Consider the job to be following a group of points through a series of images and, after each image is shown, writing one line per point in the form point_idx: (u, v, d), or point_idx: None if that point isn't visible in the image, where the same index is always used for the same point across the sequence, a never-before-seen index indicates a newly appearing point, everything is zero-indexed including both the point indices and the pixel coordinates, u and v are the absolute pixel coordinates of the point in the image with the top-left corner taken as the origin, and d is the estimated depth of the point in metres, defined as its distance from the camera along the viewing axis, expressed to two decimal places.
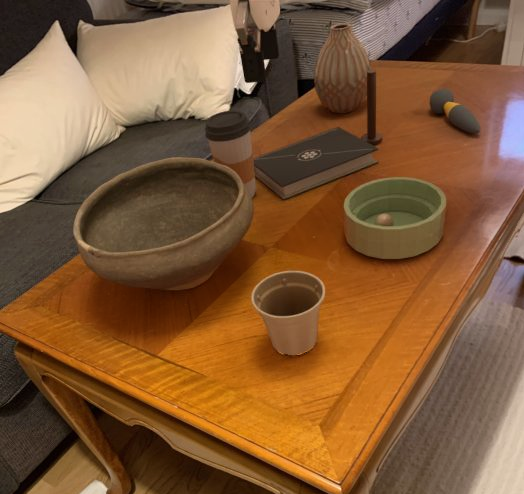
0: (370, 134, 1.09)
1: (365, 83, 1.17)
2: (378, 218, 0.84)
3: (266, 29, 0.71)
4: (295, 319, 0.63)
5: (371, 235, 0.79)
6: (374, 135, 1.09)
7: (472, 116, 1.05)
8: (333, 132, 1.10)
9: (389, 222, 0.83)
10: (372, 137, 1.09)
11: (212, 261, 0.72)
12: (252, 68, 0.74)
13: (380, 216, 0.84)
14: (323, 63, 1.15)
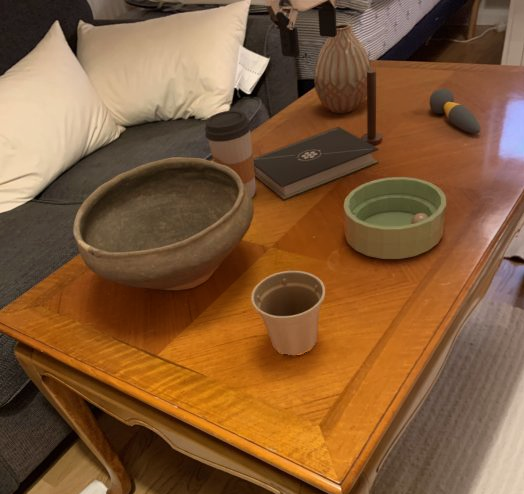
0: (370, 134, 1.09)
1: (365, 83, 1.17)
2: None
3: (300, 9, 0.77)
4: (295, 319, 0.63)
5: (371, 235, 0.79)
6: (374, 135, 1.09)
7: (472, 116, 1.05)
8: (333, 132, 1.10)
9: None
10: (372, 137, 1.09)
11: (212, 261, 0.72)
12: (285, 43, 0.81)
13: None
14: (323, 63, 1.15)
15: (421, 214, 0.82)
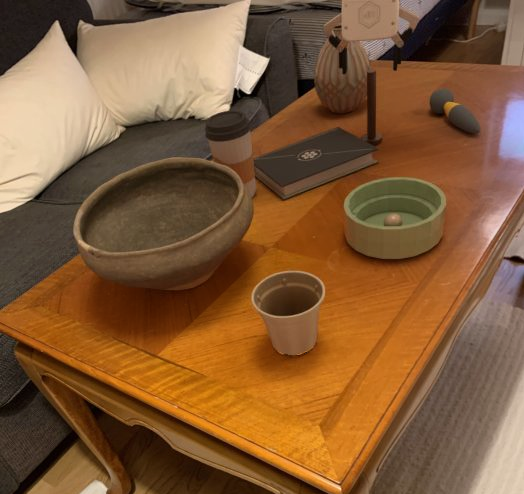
0: (370, 134, 1.09)
1: (365, 83, 1.17)
2: (395, 216, 0.83)
3: (344, 39, 0.96)
4: (295, 319, 0.63)
5: (371, 235, 0.79)
6: (374, 135, 1.09)
7: (472, 116, 1.05)
8: (333, 132, 1.10)
9: None
10: (372, 137, 1.09)
11: (212, 261, 0.72)
12: (339, 60, 1.01)
13: (397, 216, 0.83)
14: (323, 63, 1.15)
15: None
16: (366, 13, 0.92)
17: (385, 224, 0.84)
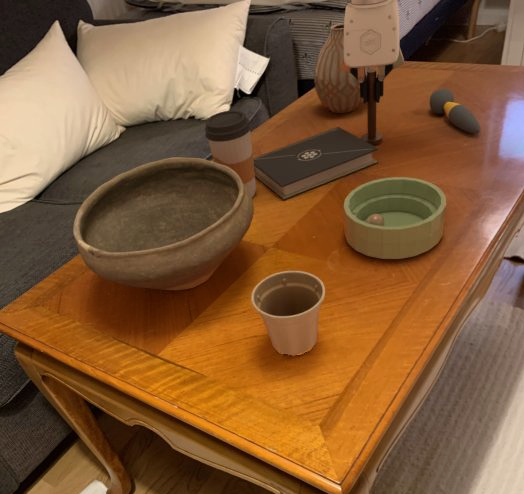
0: (370, 134, 1.09)
1: None
2: None
3: (346, 65, 0.99)
4: (295, 319, 0.63)
5: (371, 235, 0.79)
6: (374, 135, 1.09)
7: (472, 116, 1.05)
8: (333, 132, 1.10)
9: (373, 221, 0.84)
10: (372, 137, 1.09)
11: (212, 261, 0.72)
12: (360, 90, 1.04)
13: (366, 222, 0.85)
14: (323, 63, 1.15)
15: (384, 223, 0.85)
16: (367, 40, 0.95)
17: None
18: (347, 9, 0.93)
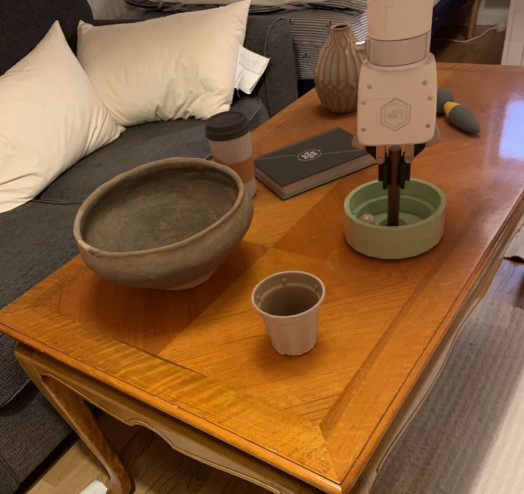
0: (390, 224, 0.81)
1: None
2: None
3: (361, 143, 0.71)
4: (295, 319, 0.63)
5: (371, 235, 0.79)
6: (395, 225, 0.81)
7: (472, 116, 1.05)
8: (333, 132, 1.10)
9: None
10: None
11: (212, 261, 0.72)
12: None
13: None
14: (323, 63, 1.15)
15: (373, 217, 0.85)
16: (391, 112, 0.67)
17: None
18: (363, 70, 0.65)
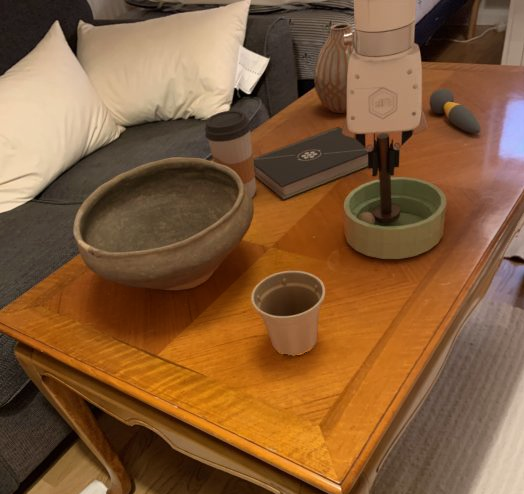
0: (383, 209, 0.85)
1: None
2: None
3: (351, 131, 0.74)
4: (295, 319, 0.63)
5: (371, 235, 0.79)
6: (388, 210, 0.85)
7: (472, 116, 1.05)
8: (333, 132, 1.10)
9: (359, 217, 0.85)
10: (386, 212, 0.85)
11: (212, 261, 0.72)
12: (368, 159, 0.79)
13: None
14: (323, 63, 1.15)
15: (372, 215, 0.85)
16: (379, 101, 0.70)
17: None
18: (351, 60, 0.68)
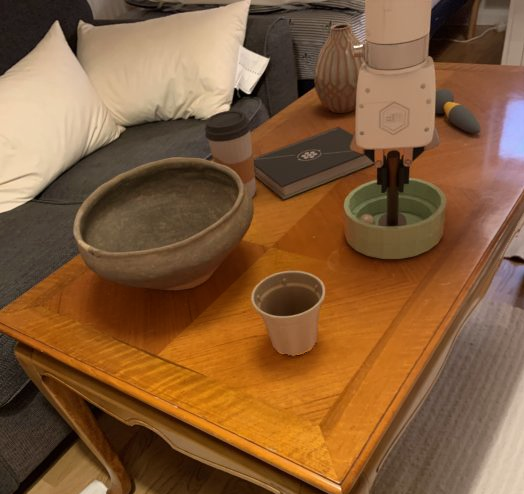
0: (387, 219, 0.82)
1: None
2: None
3: (359, 146, 0.71)
4: (295, 319, 0.63)
5: (371, 235, 0.79)
6: (391, 223, 0.82)
7: (472, 116, 1.05)
8: (333, 132, 1.10)
9: (359, 218, 0.85)
10: (389, 224, 0.82)
11: (212, 261, 0.72)
12: None
13: None
14: (323, 63, 1.15)
15: (373, 219, 0.84)
16: (390, 116, 0.67)
17: None
18: (361, 73, 0.65)
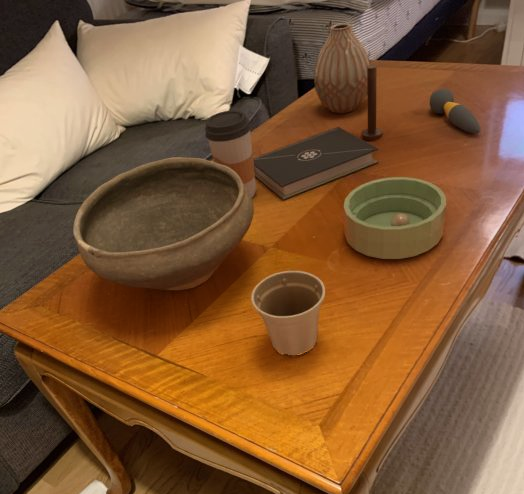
0: (368, 129, 1.11)
1: (365, 83, 1.17)
2: (409, 222, 0.84)
3: None
4: (295, 319, 0.63)
5: (371, 235, 0.79)
6: (371, 131, 1.11)
7: (472, 116, 1.05)
8: (333, 132, 1.10)
9: None
10: (369, 132, 1.11)
11: (212, 261, 0.72)
12: None
13: (409, 221, 0.84)
14: (323, 63, 1.15)
15: (391, 225, 0.84)
16: None
17: (400, 225, 0.83)
18: None
